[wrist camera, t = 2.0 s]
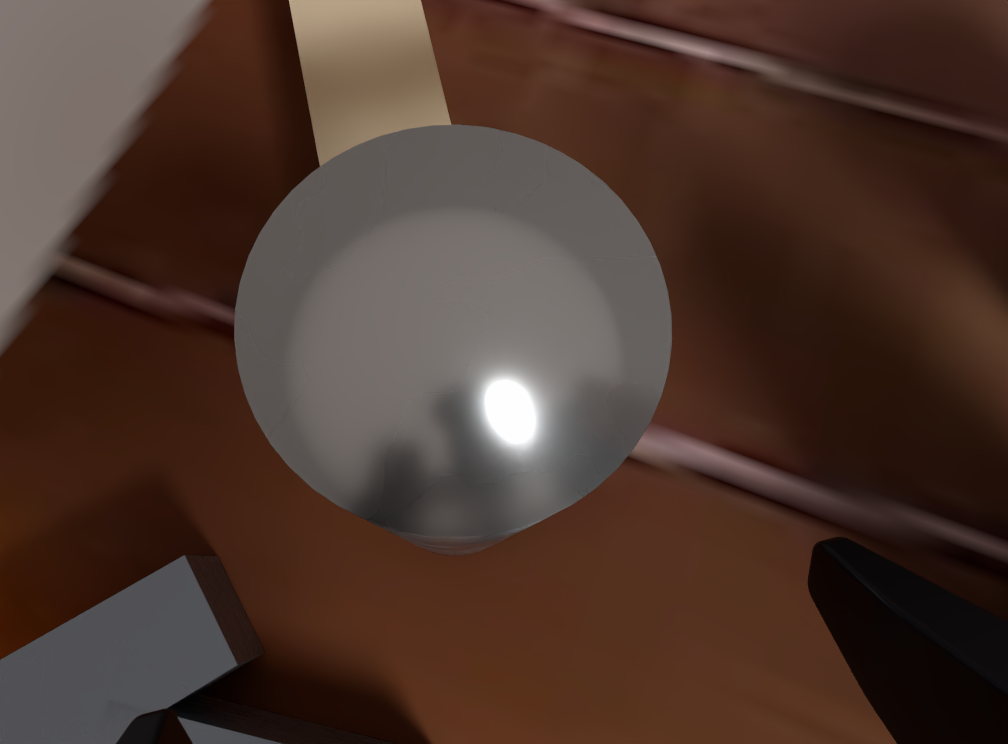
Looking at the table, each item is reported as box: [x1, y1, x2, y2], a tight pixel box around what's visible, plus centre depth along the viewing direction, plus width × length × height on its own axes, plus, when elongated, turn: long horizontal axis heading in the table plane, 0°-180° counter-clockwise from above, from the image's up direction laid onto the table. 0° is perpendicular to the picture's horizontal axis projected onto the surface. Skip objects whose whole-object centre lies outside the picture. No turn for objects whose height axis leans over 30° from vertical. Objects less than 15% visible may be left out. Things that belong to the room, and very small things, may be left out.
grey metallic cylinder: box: [234, 125, 672, 556], centre depth 14 cm, size 5×5×14 cm
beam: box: [289, 0, 451, 166], centre depth 22 cm, size 12×4×3 cm, turn 13°
